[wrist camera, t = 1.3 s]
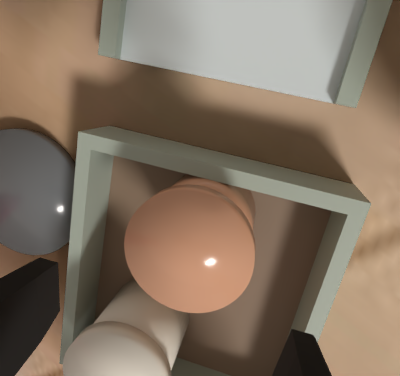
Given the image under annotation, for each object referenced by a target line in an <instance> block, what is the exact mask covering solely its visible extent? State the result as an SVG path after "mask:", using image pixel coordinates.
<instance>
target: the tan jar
mask: <svg viewBox="0 0 400 376" xmlns="http://www.w3.org/2000/svg"><path fill="white" fill-rule="evenodd" d="M255 215H256V208H255V202H254V198H253V196H252V193H251V191H250V190H248V189H244V188H240V187H236V186H232V185H229V184H225V183H221V182H217V181H213V180H209V179H205V178H201V177H197V176H193V175H189V174H185V175H184V176H182V177H181V178H180V179H179V180H178V181H177V182H176V183H175V184H173V185H172V186H171V187H169V188H166V189H163V190H162V191H160V192H158V193H156V194H155V195H153V196H152V197H151V198H149V199H148V200H147V201H146V202H145V203H143V204H142V205H141V206H140V207H139V208H138V209H137V210H136V212H135V213H134V214H133V216H132V218H131V219H130V221H129V223H128V226H127V229H126V233H125V240H124V250H125V257H126V261H127V264H128V267H129V269H130V271H131V273H132V275H133V277H134V279H135V280H136V282H137V283H138V284H139V285H140V287H141V288H142V289H143V290H144V291H145V292H146V293H147V294H148V295H149V296H151V297H152V298H153V299H155V300H156V301H158V302H159V303H161V304H163V305H165V306H167V307H169V308H172V309H174V310H178V311H182V312H188V313H207V312H211V311H216V310H218V309H221V308H223V307H225V306H227V305H229V304H231V303H232V302H233V301H235V300H236V299H237V298H238V297H239V296H240V295H241V294H242V293H243V292H244V290H245V289H246V287H247V286H248V284H249V282H250V279H251V277H252V274H253V269H254V263H255V252H256V245H255V237H254V233H253V229H254V223H255Z"/></svg>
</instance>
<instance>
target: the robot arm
mask: <svg viewBox="0 0 400 376" xmlns="http://www.w3.org/2000/svg"><path fill="white" fill-rule="evenodd" d="M59 311H60V303H59V273H58V263H57V262H54V261H50V260H47V259H43V258H38V259H36V260H34V261H32V262H30V263H28V264H27V265H25V266H23V267H21V268H19V269H17V270H15V271H13V272H11V273H10V274H8V275H6V276H4V277H2V278H0V376H15V375H16V373H17V372H18V371H19V369H20V368H21V367H22V366H23V364H24V363H25V362H26V360H27V359H28V358H29V357H30V355H31V354H32V353H33V351H34V350H35V349H36V347H37V346H38V345H39V343H40V342H41V341H42V339H43V337H44V336H45V334H46V333H47V331H48V329H49V328H50V326H51V325H52V323H53V321H54V319H55V318H56V316H57V314H58V313H59ZM272 376H332V375H331V373H330V371H329V368H328V366H327V364H326V362H325V359H324V357H323V355H322V352H321V350H320V348H319V345H318V343H317V341H316V338H315V337H314V335H312V334H309V333H305V332H302V331H298V330H295V329H291V331H290V334H289V336H288V339H287V341H286V343H285V346H284V348H283V350H282V353H281V355H280V358H279V360H278V362H277V365H276V367H275V369H274V372H273V374H272Z"/></svg>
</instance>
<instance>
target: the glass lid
mask: <svg viewBox="0 0 400 376" xmlns="http://www.w3.org/2000/svg"><path fill="white" fill-rule="evenodd" d="M392 1H393V0H103V7H102V18H101V29H100V39H99V50H98V55H102V56H106V57H111V58H115V59H120V60H125V61H130V62H135V63H140V64H144V65H149V66H154V67H159V68H164V69H169V70H174V71H178V72H183V73H188V74H193V75H198V76H203V77H207V78H212V79H217V80H222V81H227V82H232V83H236V84H241V85H246V86H251V87H256V88H261V89H265V90H270V91H275V92H280V93H285V94H290V95H294V96H299V97H304V98H309V99H314V100H319V101H323V102H328V103H333V104H338V105H343V106H348V107H353V108H356V107H357V104H358V101H359V98H360V95H361V92H362V89H363V86H364V83H365V80H366V78H367V75H368V72H369V69H370V66H371V63H372V60H373V57H374V54H375V51H376V48H377V45H378V42H379V39H380V36H381V33H382V30H383V27H384V24H385V21H386V18H387V16H388V13H389V10H390V7H391V4H392Z"/></svg>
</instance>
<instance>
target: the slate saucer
mask: <svg viewBox="0 0 400 376" xmlns="http://www.w3.org/2000/svg"><path fill="white" fill-rule="evenodd" d="M75 166H76V164H75V162H74V161H73V159H72V158H71V157H70V155H69V154H68V153H67V152H66V151H65V150H64V149H63V148H62V147H61V146H60V145H59V144H58V143H56V142H55V141H54V140H52V139H51V138H49V137H48V136H46V135H44V134H42V133H40V132H37V131H34V130H30V129H24V128H14V129H6V130H0V243H1V244H3V245H4V246H6V247H8V248H10V249H12V250H14V251H17V252H19V253H23V254H28V255H43V254H48V253H51V252H54V251H56V250H58V249H60V248H61V247H63V246H64V245H65V244H67V243H68V242H69V240H70V228H71V215H72V203H73V191H74V178H75Z"/></svg>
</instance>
